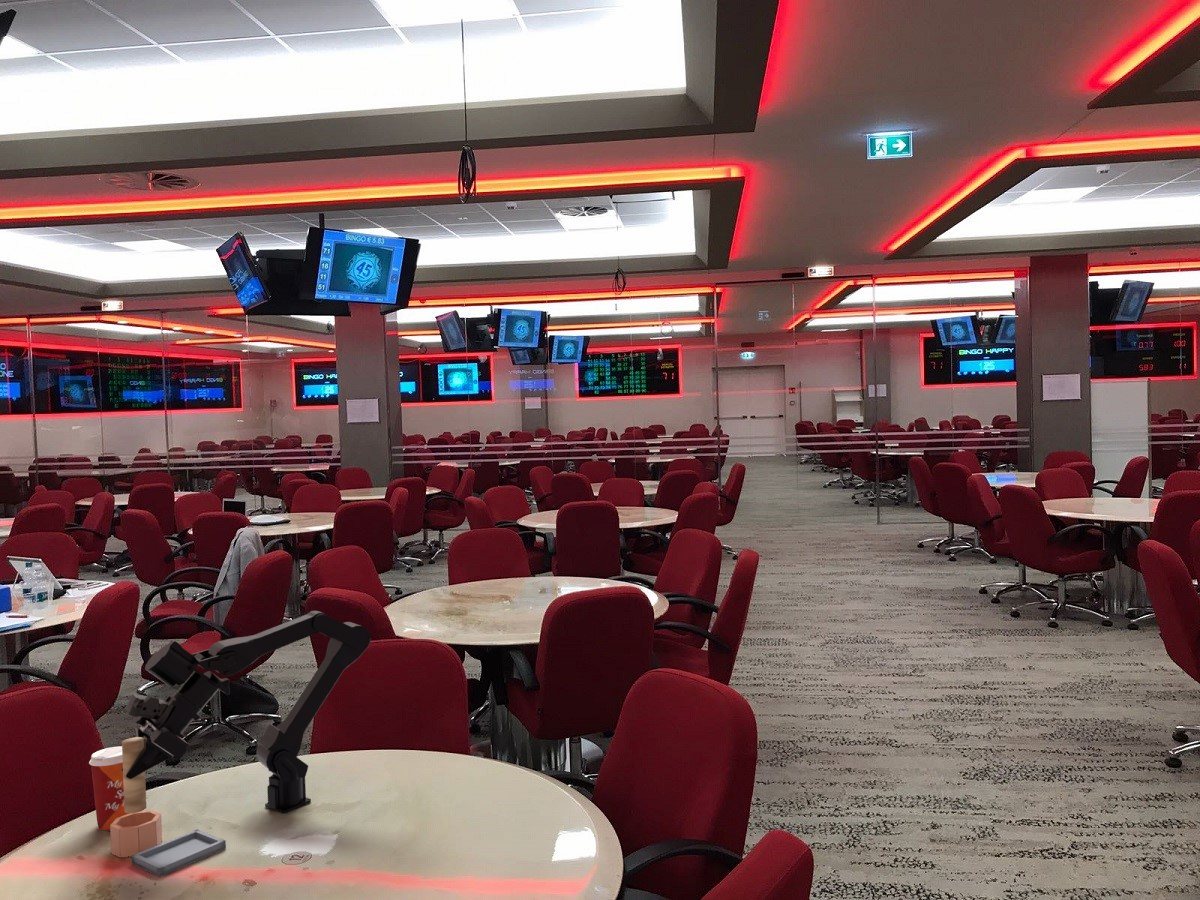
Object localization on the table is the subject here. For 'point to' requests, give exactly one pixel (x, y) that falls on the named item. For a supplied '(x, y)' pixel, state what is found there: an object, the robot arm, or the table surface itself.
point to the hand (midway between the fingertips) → (125, 774)
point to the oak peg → (136, 785)
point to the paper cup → (108, 785)
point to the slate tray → (178, 852)
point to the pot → (135, 833)
